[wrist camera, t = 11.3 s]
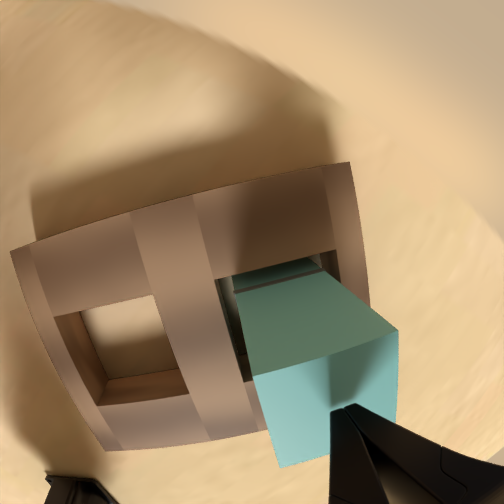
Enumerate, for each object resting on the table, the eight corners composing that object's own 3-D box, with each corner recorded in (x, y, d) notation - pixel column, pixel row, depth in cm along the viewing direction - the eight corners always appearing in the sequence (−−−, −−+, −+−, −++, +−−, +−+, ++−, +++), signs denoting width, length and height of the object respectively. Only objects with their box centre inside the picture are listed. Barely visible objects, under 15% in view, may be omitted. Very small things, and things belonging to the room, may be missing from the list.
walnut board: (356, 371, 20) (374, 395, 17) (114, 424, 19) (105, 451, 16) (328, 164, 17) (349, 161, 14) (35, 241, 16) (9, 251, 13)
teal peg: (318, 324, 19) (395, 428, 9) (248, 343, 19) (278, 468, 9) (307, 255, 18) (399, 328, 8) (230, 274, 18) (250, 375, 8)
